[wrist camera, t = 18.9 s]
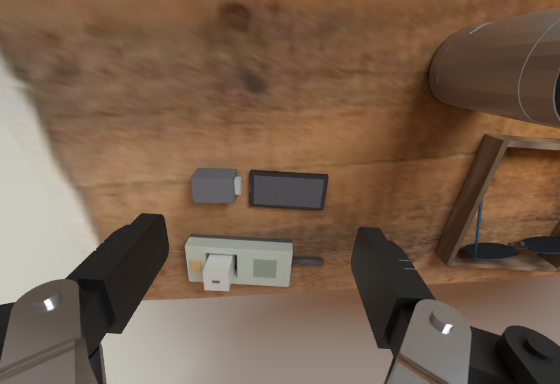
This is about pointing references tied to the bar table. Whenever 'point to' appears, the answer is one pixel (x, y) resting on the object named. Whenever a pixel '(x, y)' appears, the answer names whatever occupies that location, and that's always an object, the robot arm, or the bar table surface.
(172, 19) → the bar table surface
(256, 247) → the strip
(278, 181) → the phone
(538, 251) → the sunglasses
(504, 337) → the robot arm
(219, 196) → the plug
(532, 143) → the valet tray
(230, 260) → the charger
